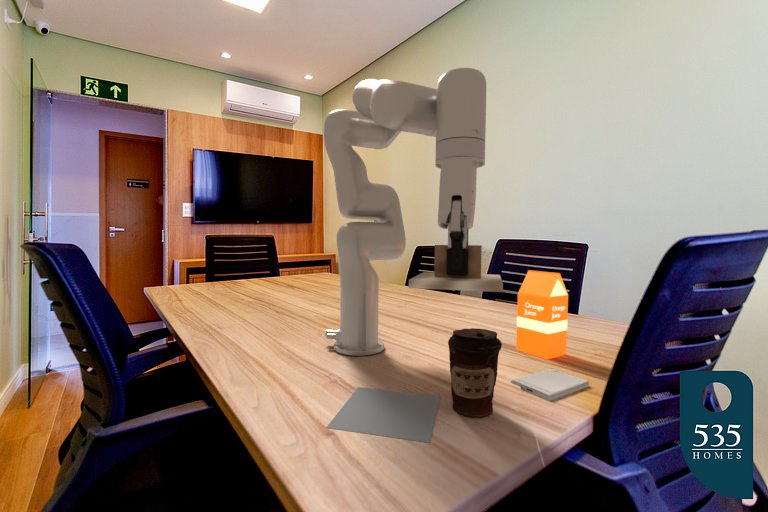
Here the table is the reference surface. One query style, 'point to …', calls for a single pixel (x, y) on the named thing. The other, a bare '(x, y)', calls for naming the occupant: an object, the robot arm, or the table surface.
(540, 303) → the orange juice
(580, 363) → the table surface
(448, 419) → the table surface
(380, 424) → the mat
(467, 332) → the coffee cup
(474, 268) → the lid
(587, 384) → the hard drive
